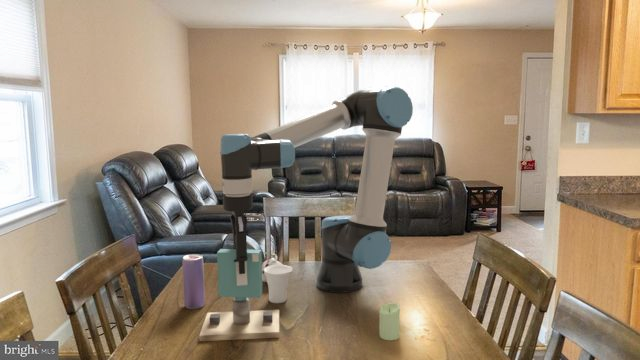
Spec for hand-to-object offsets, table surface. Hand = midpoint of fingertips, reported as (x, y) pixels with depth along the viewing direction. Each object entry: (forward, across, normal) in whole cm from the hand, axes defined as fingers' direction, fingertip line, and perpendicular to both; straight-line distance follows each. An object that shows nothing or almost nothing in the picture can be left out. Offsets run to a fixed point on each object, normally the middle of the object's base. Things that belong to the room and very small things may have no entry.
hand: (241, 281), depth 127 cm
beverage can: (+13, -18, -12) cm, 26 cm away
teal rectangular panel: (+5, 0, 0) cm, 5 cm away
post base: (+13, 0, 0) cm, 13 cm away
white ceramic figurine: (+13, -32, +13) cm, 37 cm away
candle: (+13, +15, +36) cm, 41 cm away
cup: (+13, -16, +13) cm, 24 cm away
